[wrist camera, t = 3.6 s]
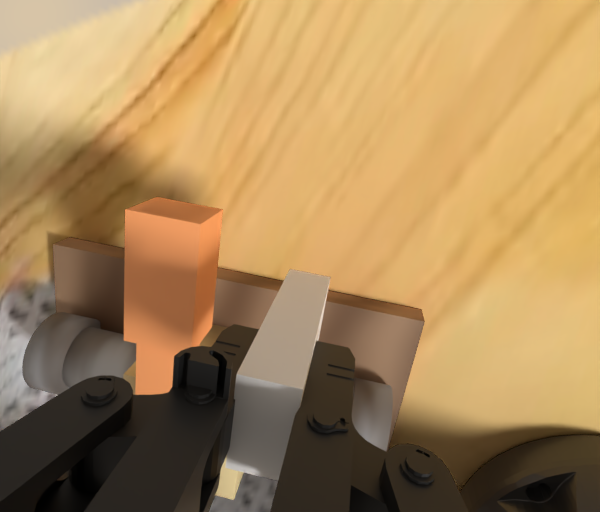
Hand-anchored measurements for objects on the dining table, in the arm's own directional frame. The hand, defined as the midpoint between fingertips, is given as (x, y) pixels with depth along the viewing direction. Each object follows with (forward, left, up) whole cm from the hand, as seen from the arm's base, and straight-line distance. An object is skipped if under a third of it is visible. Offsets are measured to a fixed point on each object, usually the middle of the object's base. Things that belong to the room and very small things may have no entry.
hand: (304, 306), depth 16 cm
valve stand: (+5, +9, -9) cm, 14 cm away
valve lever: (+5, +4, -1) cm, 6 cm away
